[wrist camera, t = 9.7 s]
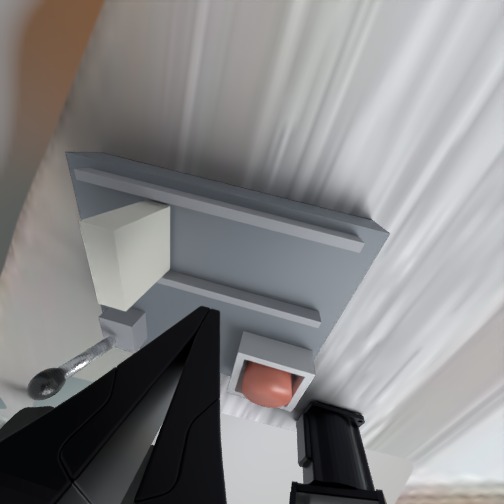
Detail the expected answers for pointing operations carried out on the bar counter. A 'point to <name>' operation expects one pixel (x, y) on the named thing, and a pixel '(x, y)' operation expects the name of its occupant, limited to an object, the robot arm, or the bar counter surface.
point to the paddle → (127, 251)
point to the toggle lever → (65, 371)
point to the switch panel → (235, 265)
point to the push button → (266, 385)
